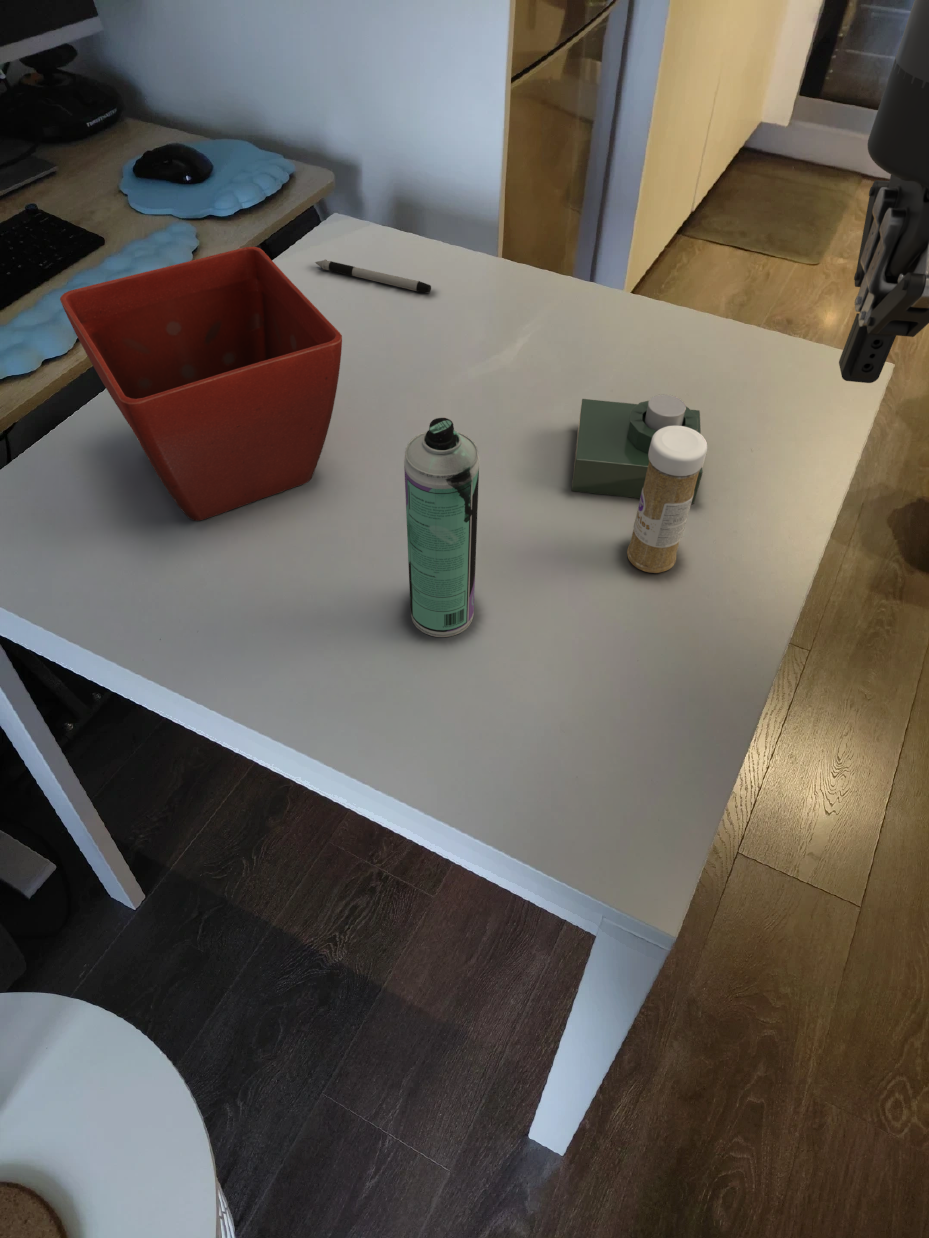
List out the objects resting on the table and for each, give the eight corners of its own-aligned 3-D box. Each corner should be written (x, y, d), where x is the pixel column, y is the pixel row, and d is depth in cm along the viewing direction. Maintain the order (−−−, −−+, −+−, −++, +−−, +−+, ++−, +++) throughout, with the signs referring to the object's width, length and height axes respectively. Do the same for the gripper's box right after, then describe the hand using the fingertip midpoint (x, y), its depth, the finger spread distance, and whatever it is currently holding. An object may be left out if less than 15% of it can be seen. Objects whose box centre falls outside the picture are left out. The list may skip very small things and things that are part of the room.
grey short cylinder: (681, 413, 88) (685, 395, 87) (682, 435, 86) (686, 418, 85) (644, 409, 89) (648, 392, 87) (644, 432, 86) (647, 414, 85)
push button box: (691, 441, 95) (704, 393, 90) (693, 504, 88) (707, 455, 83) (577, 430, 96) (584, 381, 91) (571, 491, 89) (578, 442, 84)
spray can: (485, 606, 79) (495, 417, 64) (451, 647, 76) (453, 458, 61) (433, 581, 81) (430, 392, 65) (398, 620, 77) (387, 431, 62)
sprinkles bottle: (619, 545, 84) (643, 427, 74) (664, 537, 85) (694, 419, 75) (637, 579, 81) (665, 461, 71) (684, 571, 82) (718, 453, 72)
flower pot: (360, 489, 89) (347, 336, 76) (173, 559, 82) (123, 404, 69) (281, 391, 99) (257, 242, 87) (109, 446, 92) (55, 293, 80)
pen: (427, 296, 113) (427, 286, 112) (312, 269, 117) (311, 259, 116) (432, 291, 114) (432, 281, 113) (317, 264, 118) (316, 255, 117)
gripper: (1107, 119, 38) (939, 447, 51) (1026, 23, 47) (900, 324, 60) (924, 106, 39) (804, 434, 52) (877, 14, 47) (785, 314, 60)
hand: (856, 375), depth 56 cm, fingers closed
